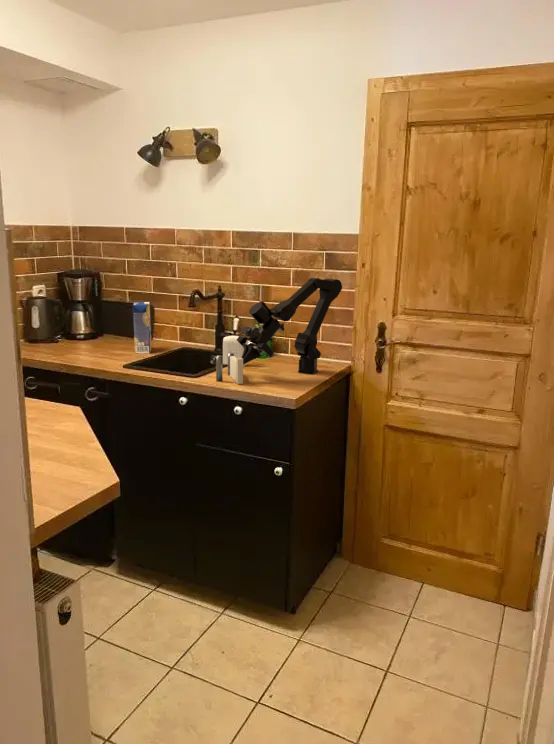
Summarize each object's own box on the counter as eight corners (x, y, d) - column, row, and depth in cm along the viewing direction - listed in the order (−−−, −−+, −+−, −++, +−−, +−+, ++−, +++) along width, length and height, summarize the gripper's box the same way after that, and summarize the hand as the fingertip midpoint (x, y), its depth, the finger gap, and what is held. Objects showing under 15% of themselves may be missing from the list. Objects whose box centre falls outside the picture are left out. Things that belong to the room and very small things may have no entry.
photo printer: (247, 364, 239) (248, 335, 236) (244, 367, 235) (244, 337, 232) (225, 362, 242) (225, 334, 239) (221, 365, 238) (221, 335, 235)
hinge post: (235, 374, 223) (235, 353, 221) (231, 375, 221) (231, 354, 219) (229, 373, 224) (229, 352, 222) (226, 374, 222) (226, 353, 220)
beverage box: (151, 348, 269) (149, 302, 264) (150, 353, 259) (148, 305, 254) (136, 348, 268) (134, 302, 263) (134, 353, 258) (132, 305, 253)
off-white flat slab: (229, 375, 220) (229, 351, 218) (234, 374, 221) (234, 351, 218) (237, 383, 207) (237, 359, 205) (243, 383, 208) (243, 359, 206)
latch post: (223, 380, 213) (223, 355, 211) (220, 381, 211) (220, 356, 209) (218, 379, 214) (218, 355, 212) (214, 381, 212) (214, 356, 210)
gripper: (241, 314, 217) (215, 345, 213) (267, 321, 202) (239, 354, 198) (258, 333, 223) (233, 364, 219) (285, 341, 208) (259, 374, 204)
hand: (240, 363), depth 210 cm, fingers closed
